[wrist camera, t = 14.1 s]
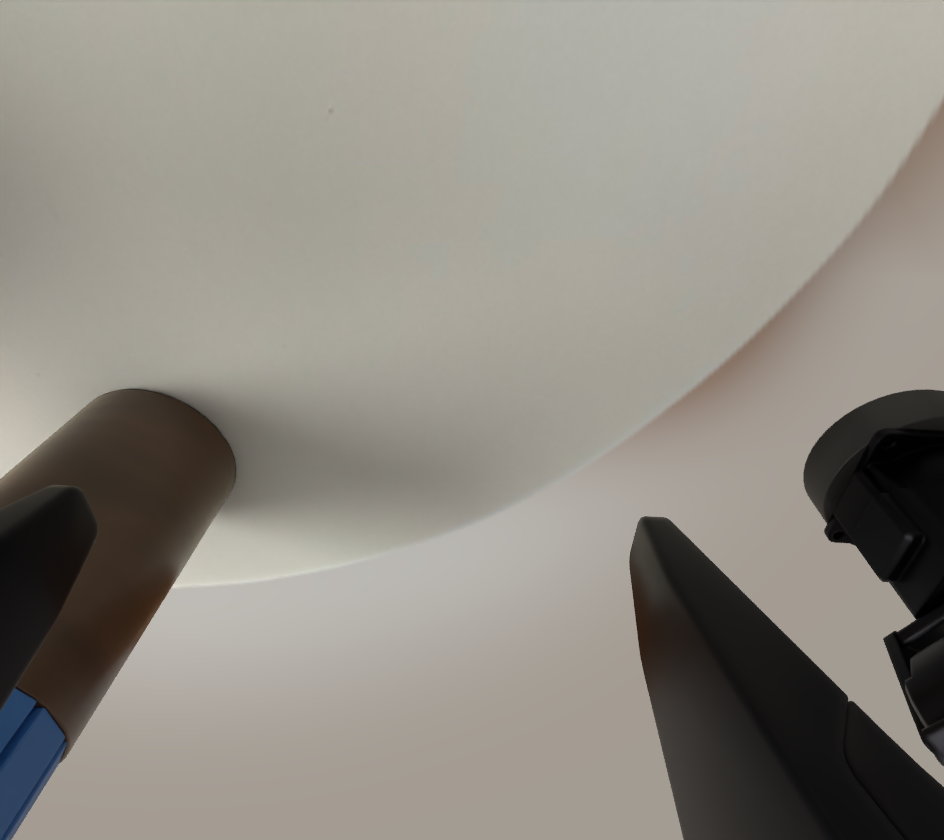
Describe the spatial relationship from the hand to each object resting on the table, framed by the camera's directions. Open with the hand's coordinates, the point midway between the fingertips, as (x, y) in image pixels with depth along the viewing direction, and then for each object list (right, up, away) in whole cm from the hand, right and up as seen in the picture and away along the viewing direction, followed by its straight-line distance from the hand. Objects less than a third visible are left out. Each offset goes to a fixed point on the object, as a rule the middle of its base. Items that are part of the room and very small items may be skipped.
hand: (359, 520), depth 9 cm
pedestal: (-12, 0, +15) cm, 19 cm away
